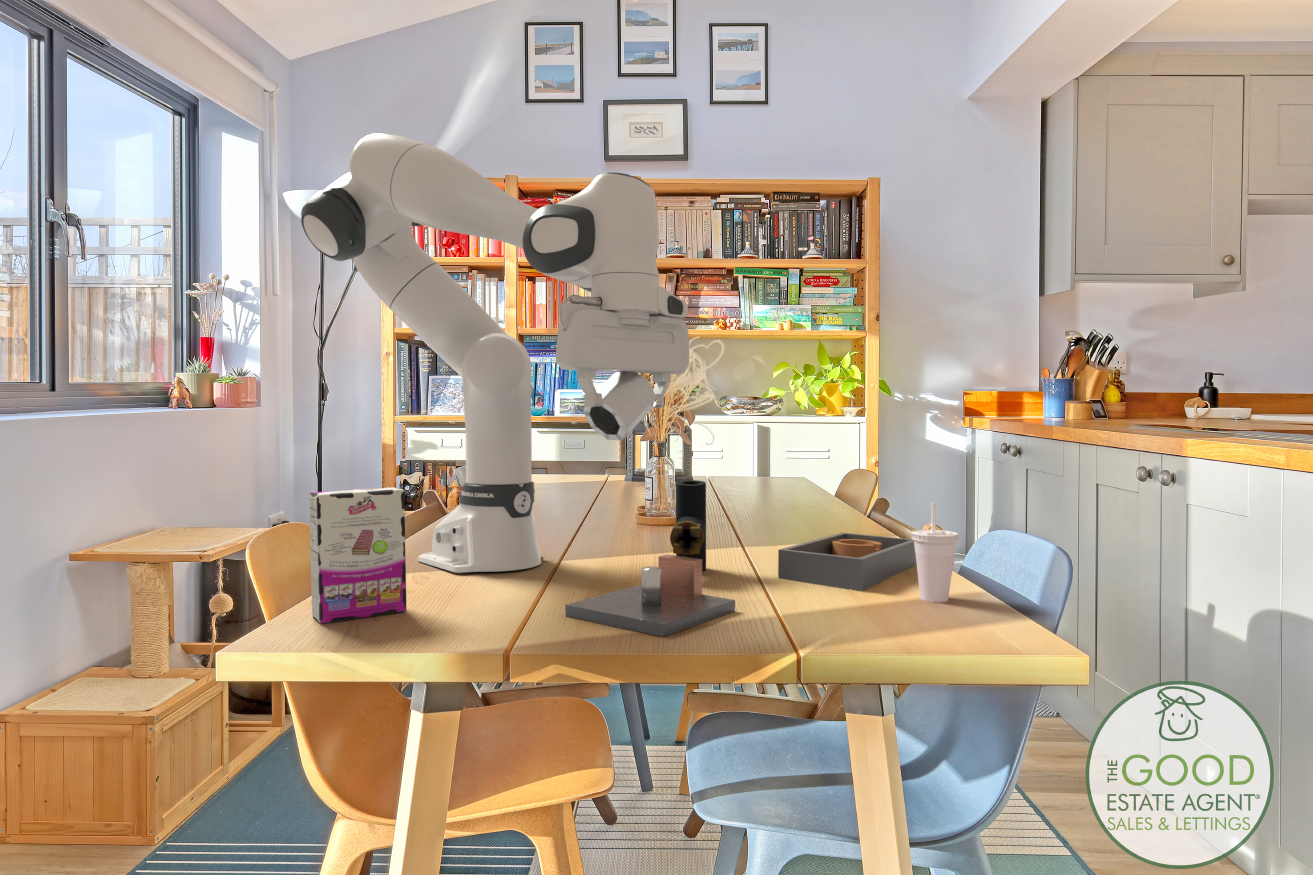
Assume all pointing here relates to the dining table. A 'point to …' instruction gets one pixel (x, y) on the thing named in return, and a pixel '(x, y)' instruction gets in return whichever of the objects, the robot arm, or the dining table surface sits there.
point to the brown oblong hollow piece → (855, 547)
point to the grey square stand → (656, 600)
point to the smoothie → (934, 560)
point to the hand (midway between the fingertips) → (625, 407)
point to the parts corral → (845, 562)
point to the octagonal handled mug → (620, 404)
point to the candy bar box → (357, 553)
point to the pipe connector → (690, 521)
